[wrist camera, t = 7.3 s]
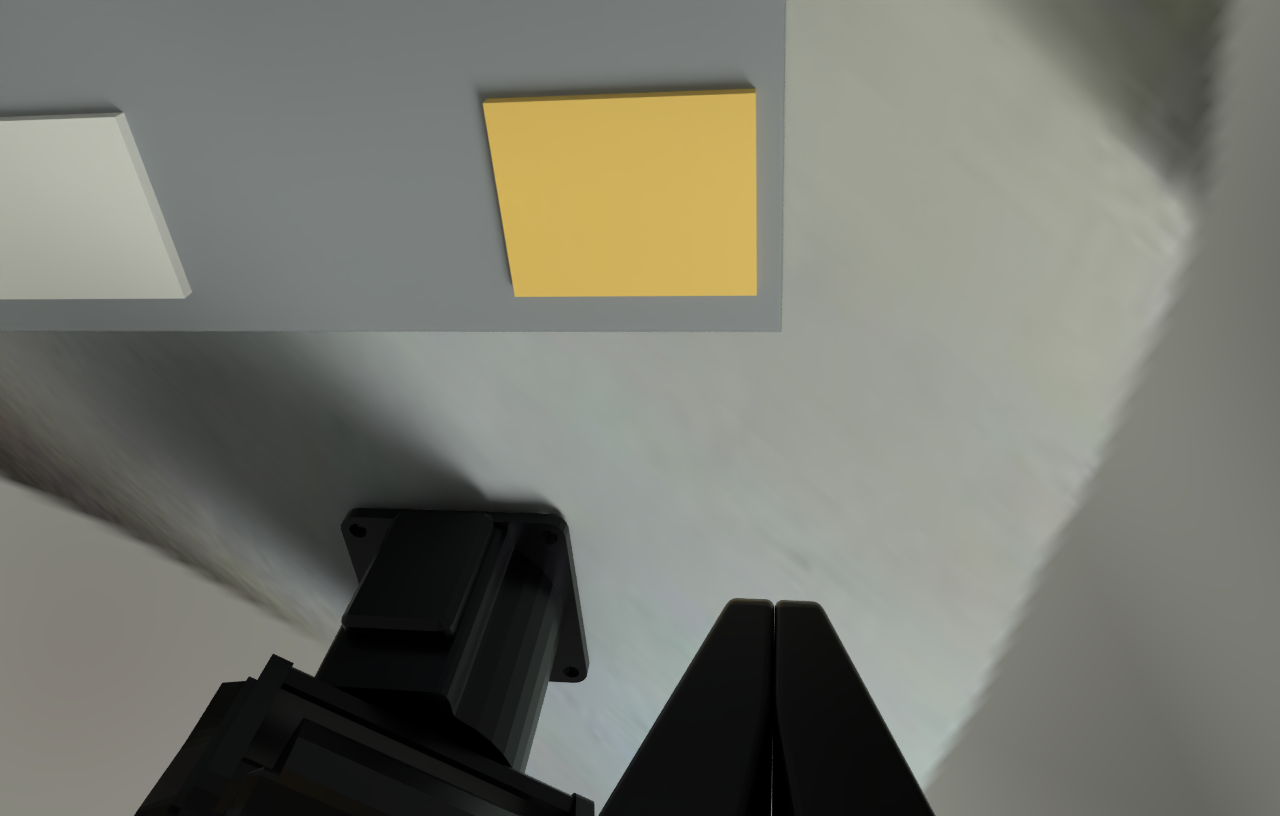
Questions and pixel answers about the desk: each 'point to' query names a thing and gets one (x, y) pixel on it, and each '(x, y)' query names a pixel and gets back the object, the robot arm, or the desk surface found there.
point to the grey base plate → (392, 165)
